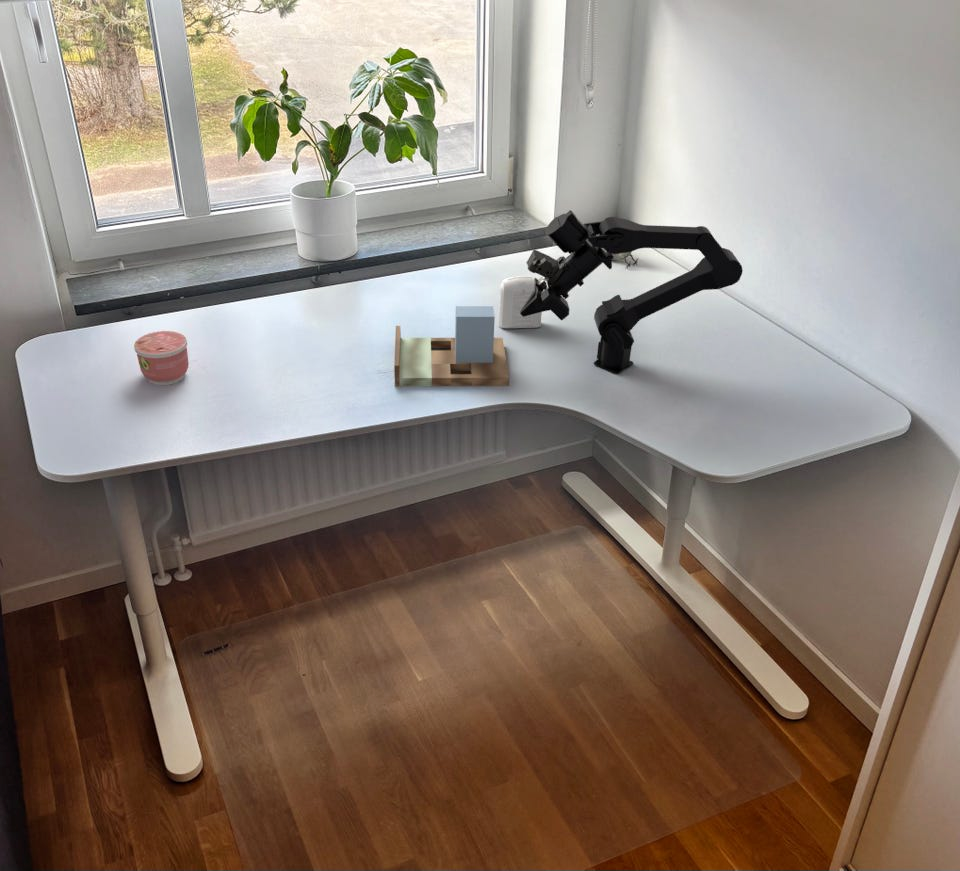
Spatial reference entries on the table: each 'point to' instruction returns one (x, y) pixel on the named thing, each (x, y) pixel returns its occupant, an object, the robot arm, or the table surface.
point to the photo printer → (516, 303)
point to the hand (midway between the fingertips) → (521, 314)
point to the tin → (474, 334)
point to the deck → (444, 364)
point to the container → (162, 356)
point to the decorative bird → (623, 257)
